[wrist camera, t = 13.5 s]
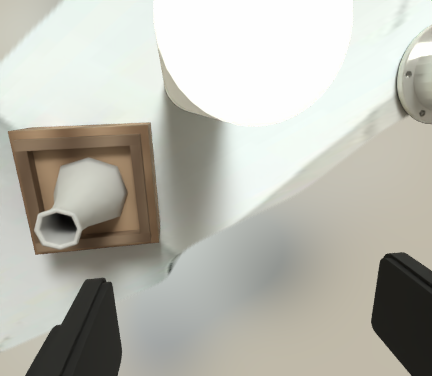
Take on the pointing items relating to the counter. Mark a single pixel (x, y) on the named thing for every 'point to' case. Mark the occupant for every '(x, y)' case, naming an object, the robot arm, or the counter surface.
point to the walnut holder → (100, 150)
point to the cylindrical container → (250, 55)
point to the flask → (81, 202)
